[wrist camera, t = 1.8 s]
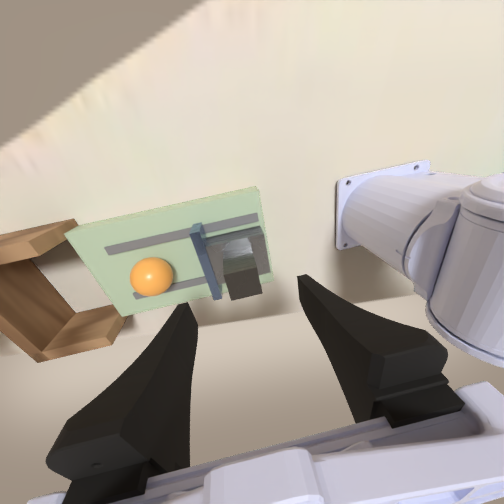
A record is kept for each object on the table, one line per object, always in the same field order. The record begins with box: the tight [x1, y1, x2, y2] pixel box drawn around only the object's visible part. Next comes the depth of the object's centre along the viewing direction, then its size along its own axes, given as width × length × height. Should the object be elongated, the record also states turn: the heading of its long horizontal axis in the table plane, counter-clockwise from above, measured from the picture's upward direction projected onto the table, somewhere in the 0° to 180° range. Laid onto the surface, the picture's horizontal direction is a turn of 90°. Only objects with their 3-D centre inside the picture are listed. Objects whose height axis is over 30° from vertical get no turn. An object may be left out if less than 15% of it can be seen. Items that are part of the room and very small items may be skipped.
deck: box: [64, 186, 274, 317], centre depth 21 cm, size 17×10×2 cm, turn 101°
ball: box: [130, 257, 173, 296], centre depth 18 cm, size 4×4×4 cm
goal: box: [0, 219, 128, 363], centre depth 19 cm, size 7×11×5 cm, turn 11°
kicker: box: [189, 222, 271, 301], centre depth 17 cm, size 6×7×6 cm
